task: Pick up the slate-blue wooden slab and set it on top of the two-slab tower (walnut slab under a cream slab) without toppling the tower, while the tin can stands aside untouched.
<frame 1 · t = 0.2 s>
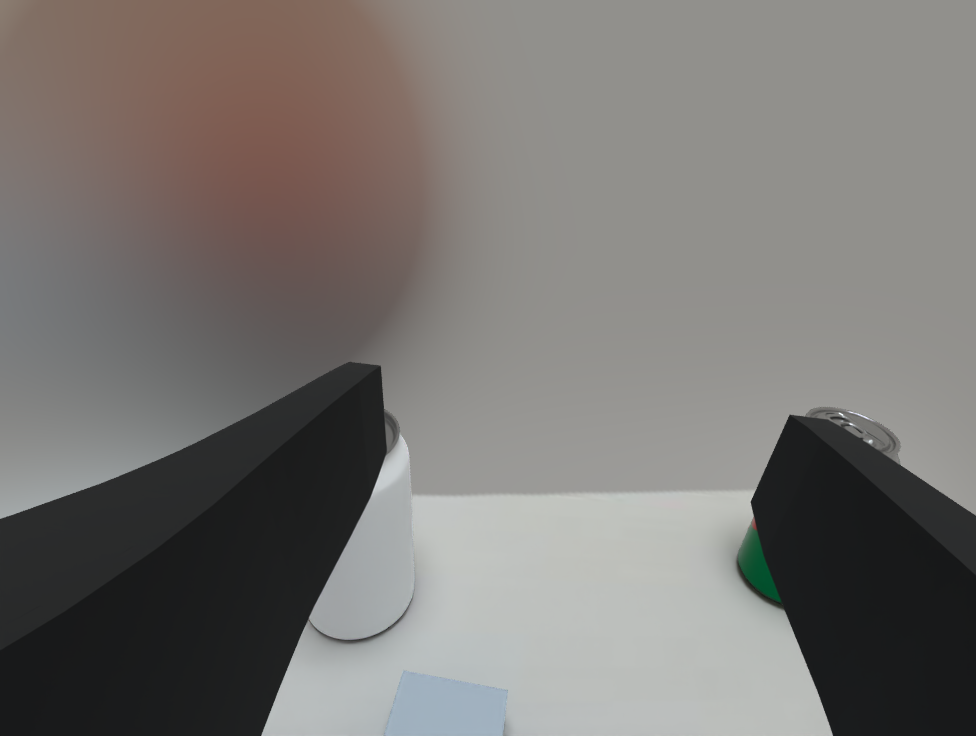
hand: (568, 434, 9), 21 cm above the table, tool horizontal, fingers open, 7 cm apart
can: (361, 594, 30), on the table
soda can: (775, 579, 32), on the table
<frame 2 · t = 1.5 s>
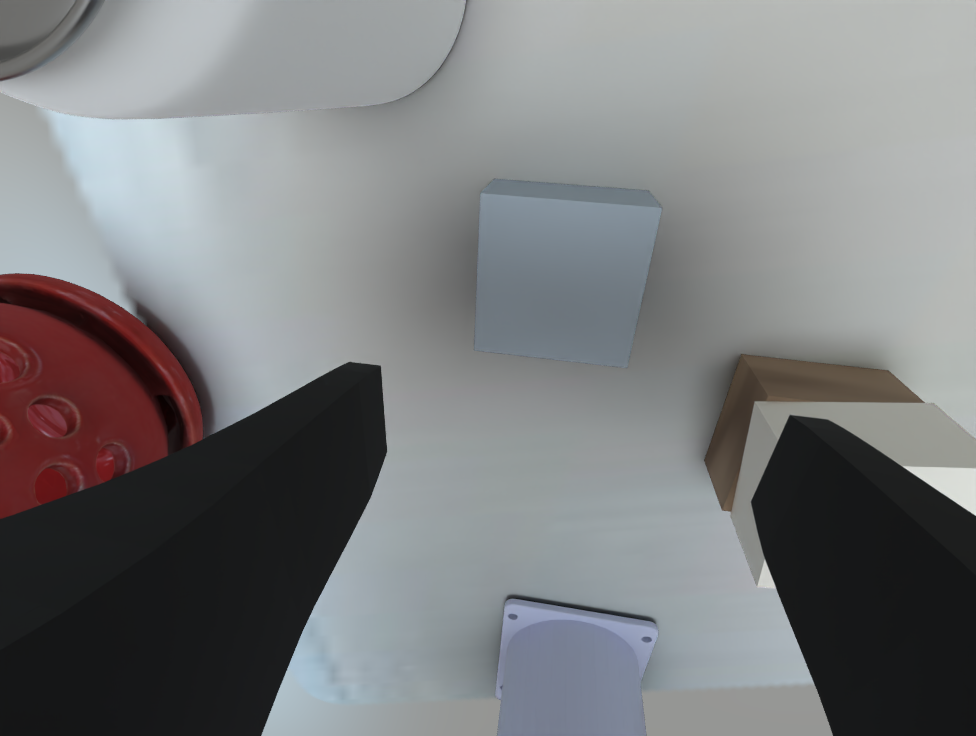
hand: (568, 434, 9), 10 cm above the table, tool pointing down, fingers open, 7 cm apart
slate block: (560, 257, 17), on the table
plant pot: (113, 377, 23), on the table
cream block: (822, 465, 16), point 3 cm above the table, touching walnut block
walnut block: (787, 416, 19), on the table, touching cream block
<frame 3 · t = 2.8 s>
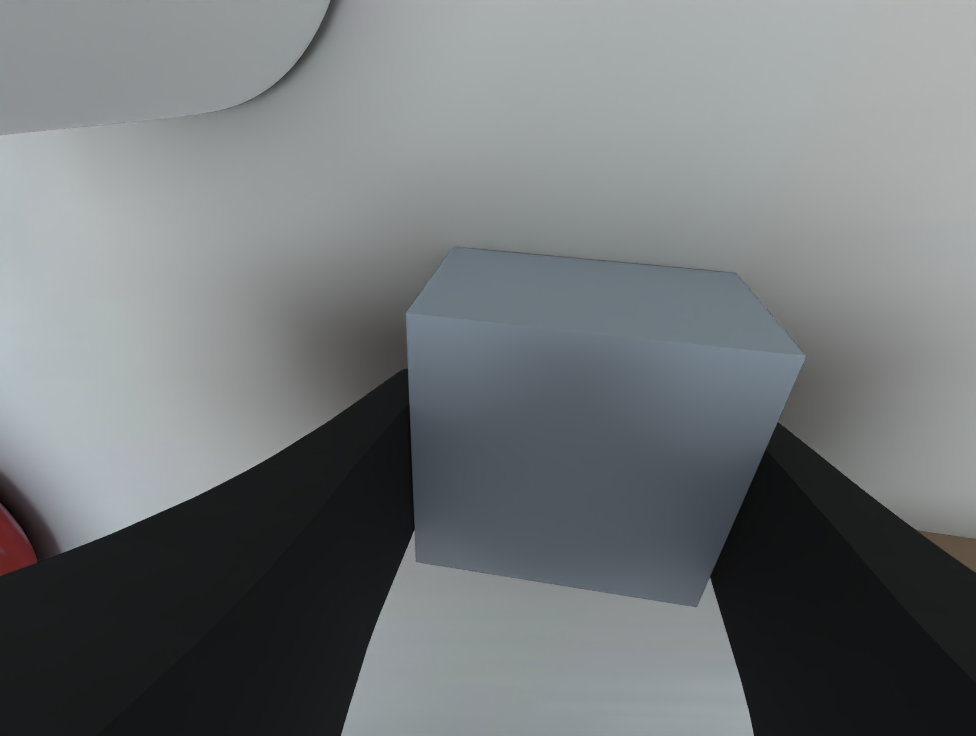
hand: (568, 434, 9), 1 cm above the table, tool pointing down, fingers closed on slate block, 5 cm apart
slate block: (571, 378, 10), on the table, touching gripper
walnut block: (911, 601, 12), on the table, touching cream block
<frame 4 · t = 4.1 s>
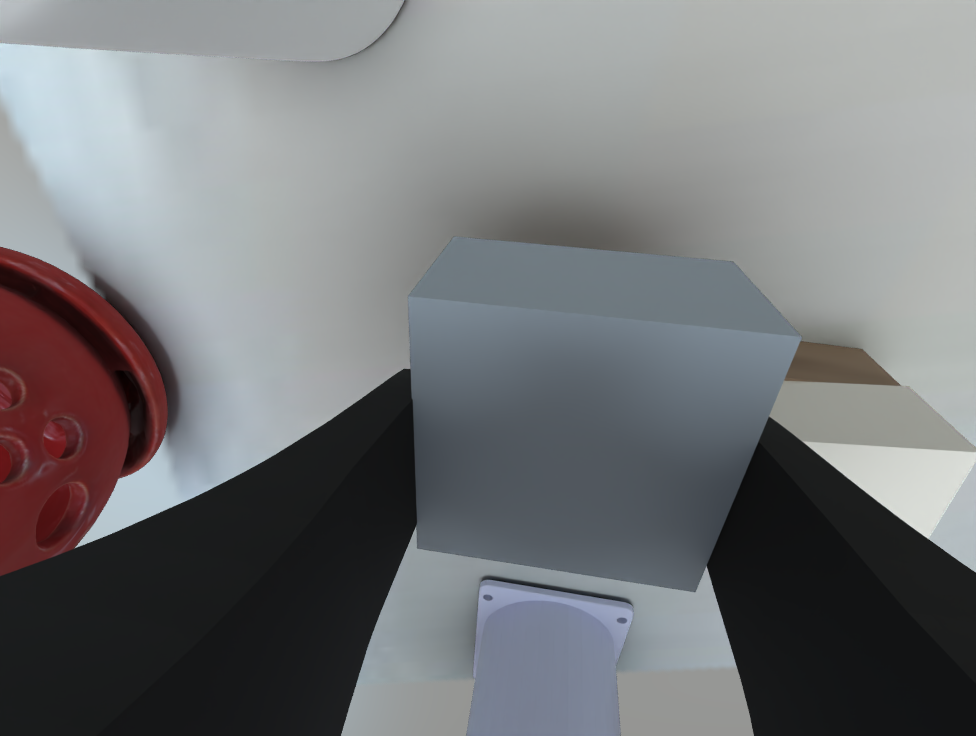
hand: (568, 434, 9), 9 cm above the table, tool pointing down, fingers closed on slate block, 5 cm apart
slate block: (571, 367, 10), point 8 cm above the table, touching gripper
plant pot: (75, 353, 23), on the table
cream block: (793, 446, 16), point 3 cm above the table, touching walnut block
walnut block: (759, 395, 19), on the table, touching cream block
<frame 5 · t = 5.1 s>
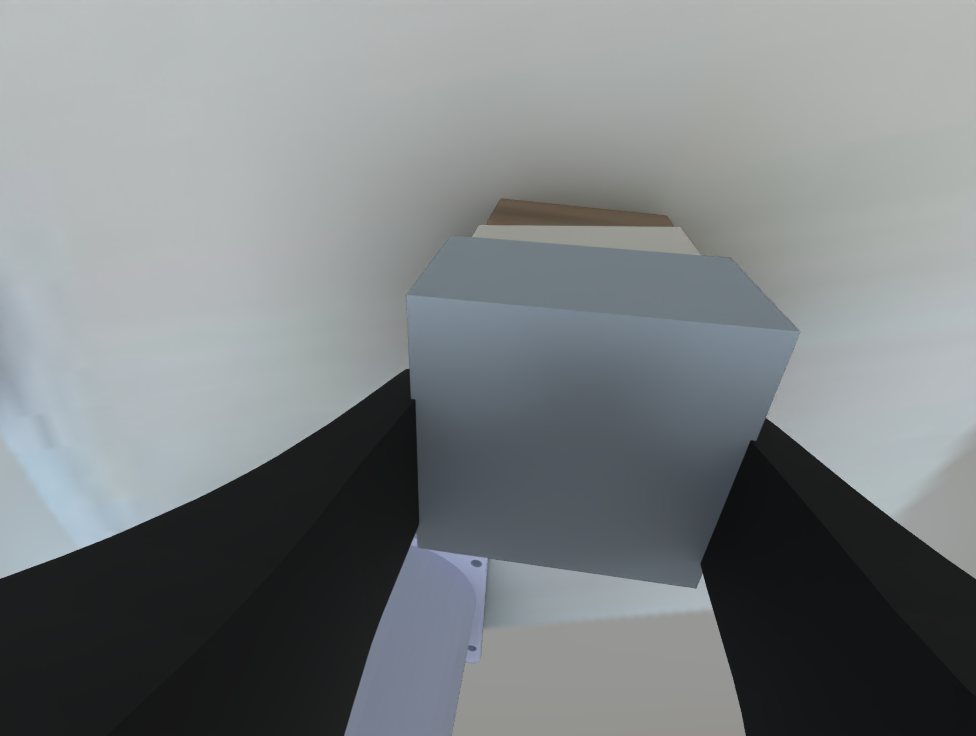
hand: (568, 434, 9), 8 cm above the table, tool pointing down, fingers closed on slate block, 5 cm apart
slate block: (569, 365, 10), point 7 cm above the table, touching gripper
cream block: (570, 316, 14), point 3 cm above the table, touching walnut block
walnut block: (569, 283, 16), on the table, touching cream block
when the fingers open (8 cm above the table, at t = 5.4 s): slate block stays where it is, resting on cream block.
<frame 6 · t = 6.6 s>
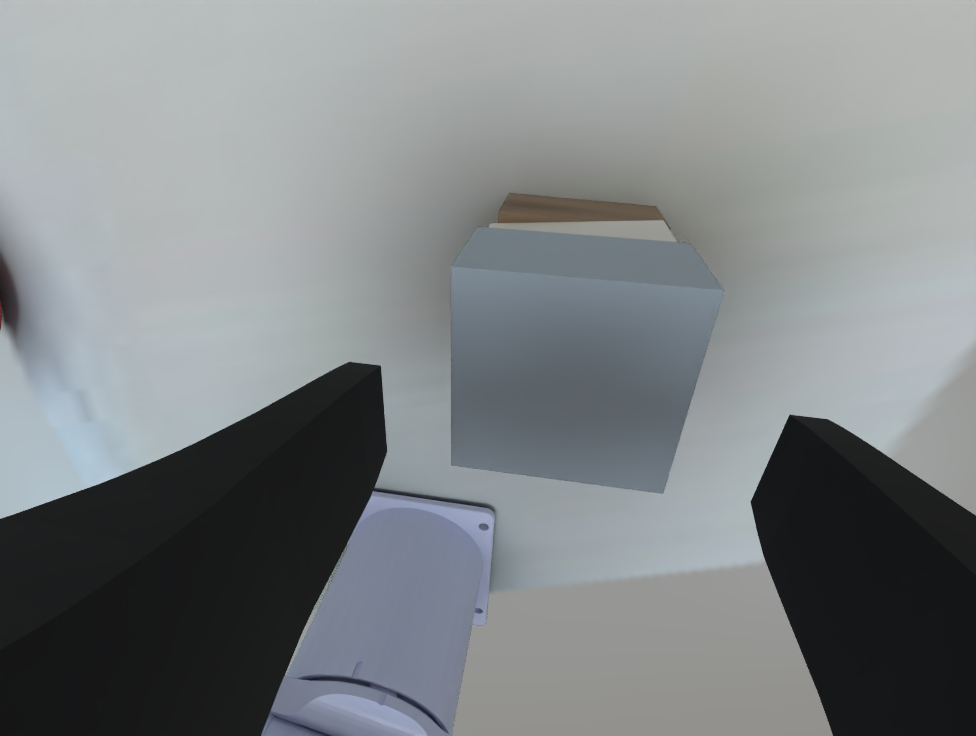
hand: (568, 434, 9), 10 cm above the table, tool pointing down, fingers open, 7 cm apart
slate block: (568, 329, 13), point 6 cm above the table, touching cream block
cream block: (571, 301, 16), point 3 cm above the table, touching slate block, walnut block
walnut block: (571, 268, 18), on the table, touching cream block
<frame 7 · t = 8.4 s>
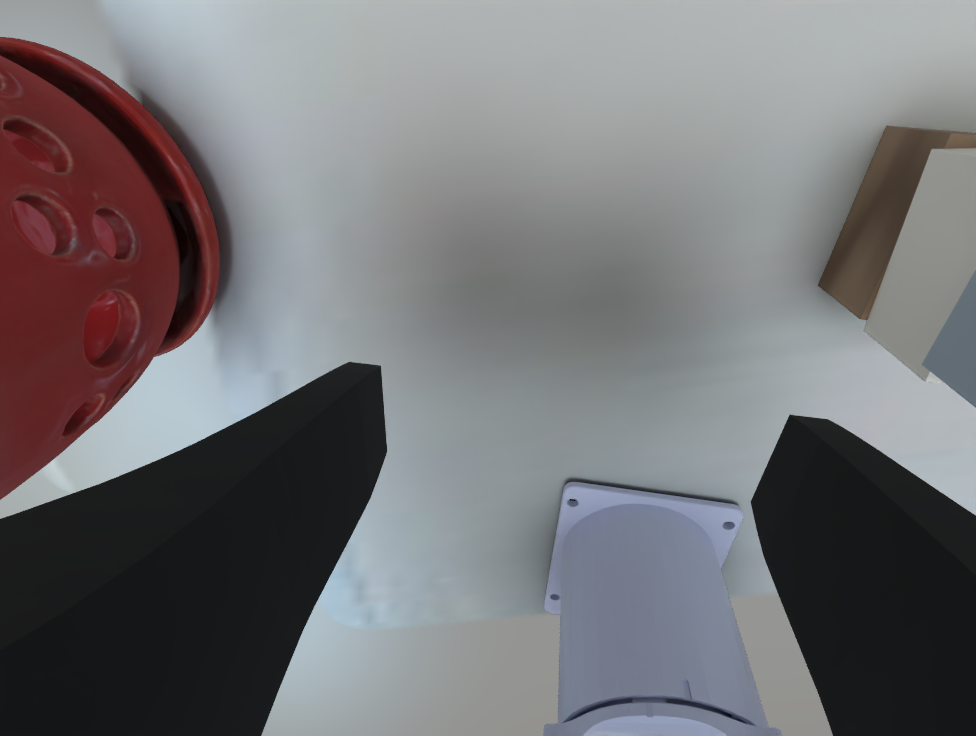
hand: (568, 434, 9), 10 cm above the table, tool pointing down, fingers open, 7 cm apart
plant pot: (114, 206, 20), on the table
walnut block: (931, 219, 16), on the table, touching cream block
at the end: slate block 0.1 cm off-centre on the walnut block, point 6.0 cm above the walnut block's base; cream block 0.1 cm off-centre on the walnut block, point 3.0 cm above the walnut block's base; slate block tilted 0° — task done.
